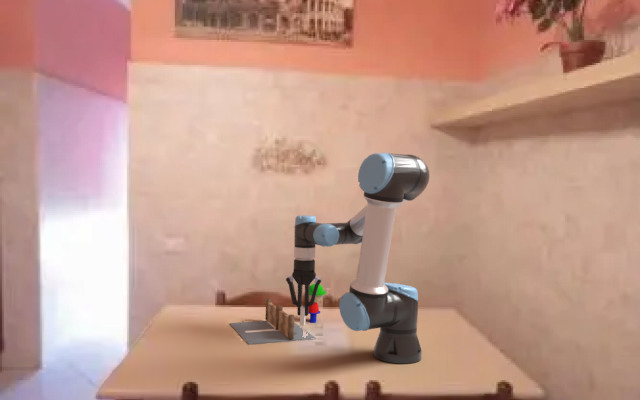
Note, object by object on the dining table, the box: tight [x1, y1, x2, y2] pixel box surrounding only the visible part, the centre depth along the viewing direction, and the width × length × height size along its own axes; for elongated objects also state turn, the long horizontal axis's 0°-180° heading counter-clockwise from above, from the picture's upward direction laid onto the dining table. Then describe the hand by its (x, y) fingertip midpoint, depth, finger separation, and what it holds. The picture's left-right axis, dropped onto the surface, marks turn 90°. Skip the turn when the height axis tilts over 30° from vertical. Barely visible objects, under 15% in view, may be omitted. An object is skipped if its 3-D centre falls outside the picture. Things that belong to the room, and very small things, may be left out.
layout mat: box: [229, 320, 316, 346], centre depth 209 cm, size 28×24×1 cm
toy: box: [308, 282, 327, 324], centre depth 225 cm, size 8×8×15 cm
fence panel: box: [278, 310, 295, 339], centre depth 202 cm, size 13×2×8 cm, turn 22°
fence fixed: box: [265, 298, 284, 330], centre depth 216 cm, size 16×2×9 cm, turn 22°
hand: (302, 324), depth 204 cm, fingers closed
